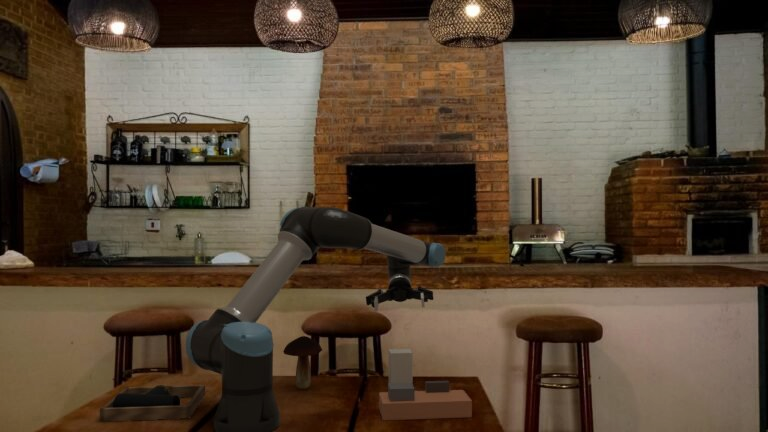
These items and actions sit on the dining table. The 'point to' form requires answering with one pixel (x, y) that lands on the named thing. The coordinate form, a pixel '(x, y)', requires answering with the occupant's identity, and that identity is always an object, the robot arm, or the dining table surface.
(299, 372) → the decorative mushroom
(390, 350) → the tall grey brick
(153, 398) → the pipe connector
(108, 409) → the frame
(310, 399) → the dining table surface
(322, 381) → the dining table surface
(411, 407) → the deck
